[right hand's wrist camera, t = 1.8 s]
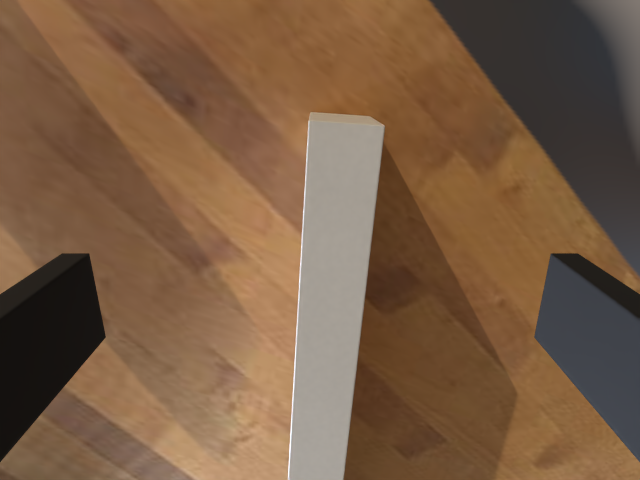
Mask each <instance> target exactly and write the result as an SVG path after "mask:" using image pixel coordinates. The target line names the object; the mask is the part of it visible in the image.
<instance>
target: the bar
mask: <svg viewBox="0 0 640 480" xmlns="http://www.w3.org/2000/svg"><path fill="white" fill-rule="evenodd" d="M384 131H385V126H384V125H383V124H381V123H380V122H378V121H377V120H375V119H373V118H372V117H370V116H361V115H347V114H333V113H319V112H311V113H310V117H309V124H308V141H307V158H306V176H305V193H304V210H303V228H302V245H301V262H300V280H299V297H298V314H297V332H296V349H295V366H294V384H293V401H292V418H291V436H290V453H289V470H288V480H344V473H345V464H346V456H347V447H348V439H349V430H350V421H351V413H352V404H353V396H354V387H355V379H356V370H357V362H358V353H359V345H360V336H361V328H362V319H363V310H364V302H365V293H366V285H367V276H368V268H369V259H370V251H371V242H372V234H373V225H374V217H375V208H376V200H377V191H378V182H379V174H380V165H381V157H382V148H383V140H384Z"/></svg>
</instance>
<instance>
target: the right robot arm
mask: <svg viewBox="0 0 640 480" xmlns="http://www.w3.org/2000/svg"><path fill="white" fill-rule="evenodd" d="M105 337H106V336H105V331H104V326H103V321H102V316H101V311H100V306H99V301H98V296H97V291H96V286H95V281H94V276H93V271H92V266H91V261H90V256H89V254H61V255H59V256H58V257H56V258H55V259H53V260H52V261H50V262H49V263H47V264H46V265H44V266H43V267H41V268H40V269H38V270H37V271H35V272H33V273H32V274H30V275H29V276H27V277H26V278H24V279H23V280H21V281H20V282H18V283H17V284H15V285H14V286H12V287H11V288H9V289H8V290H6V291H5V292H3V293H2V294H0V462H1V461H2V459H3V458H4V457H5V456H6V455H7V453H8V452H9V451H10V450H11V449H12V448H13V446H14V445H15V444H16V443H17V442H18V440H19V439H20V438H21V437H22V436H23V435H24V433H25V432H26V431H27V430H28V429H29V427H30V426H31V425H32V424H33V423H34V421H35V420H36V419H37V418H38V417H39V416H40V414H41V413H42V412H43V411H44V410H45V408H46V407H47V406H48V405H49V404H50V403H51V401H52V400H53V399H54V398H55V397H56V395H57V394H58V393H59V392H60V391H61V390H62V388H63V387H64V386H65V385H66V384H67V382H68V381H69V380H70V379H71V378H72V376H73V375H74V374H75V373H76V372H77V371H78V369H79V368H80V367H81V366H82V365H83V363H84V362H85V361H86V360H87V359H88V358H89V356H90V355H91V354H92V353H93V352H94V350H95V349H96V348H97V347H98V346H99V345H100V343H101V342H102V341H103V340H104V339H105ZM534 337H535V339H536V340H537V341H538V342H539V343H540V345H541V346H542V347H543V348H544V349H545V350H546V352H547V353H548V354H549V355H550V356H551V358H552V359H553V360H554V361H555V362H556V363H557V365H558V366H559V367H560V368H561V369H562V371H563V372H564V373H565V374H566V375H567V376H568V378H569V379H570V380H571V381H572V382H573V384H574V385H575V386H576V387H577V388H578V390H579V391H580V392H581V393H582V394H583V395H584V397H585V398H586V399H587V400H588V401H589V403H590V404H591V405H592V406H593V407H594V408H595V410H596V411H597V412H598V413H599V414H600V416H601V417H602V418H603V419H604V420H605V421H606V423H607V424H608V425H609V426H610V427H611V429H612V430H613V431H614V432H615V433H616V435H617V436H618V437H619V438H620V439H621V440H622V442H623V443H624V444H625V445H626V446H627V448H628V449H629V450H630V451H631V452H632V453H633V455H634V456H635V457H636V458H637V459H638V461H639V462H640V294H638V293H637V292H635V291H634V290H632V289H631V288H629V287H628V286H626V285H625V284H623V283H622V282H620V281H619V280H617V279H616V278H614V277H613V276H611V275H610V274H608V273H607V272H605V271H603V270H602V269H600V268H599V267H597V266H596V265H594V264H593V263H591V262H590V261H588V260H587V259H585V258H584V257H582V256H581V255H579V254H551V256H550V261H549V266H548V271H547V276H546V281H545V286H544V291H543V296H542V301H541V306H540V311H539V316H538V321H537V326H536V331H535V336H534Z"/></svg>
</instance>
